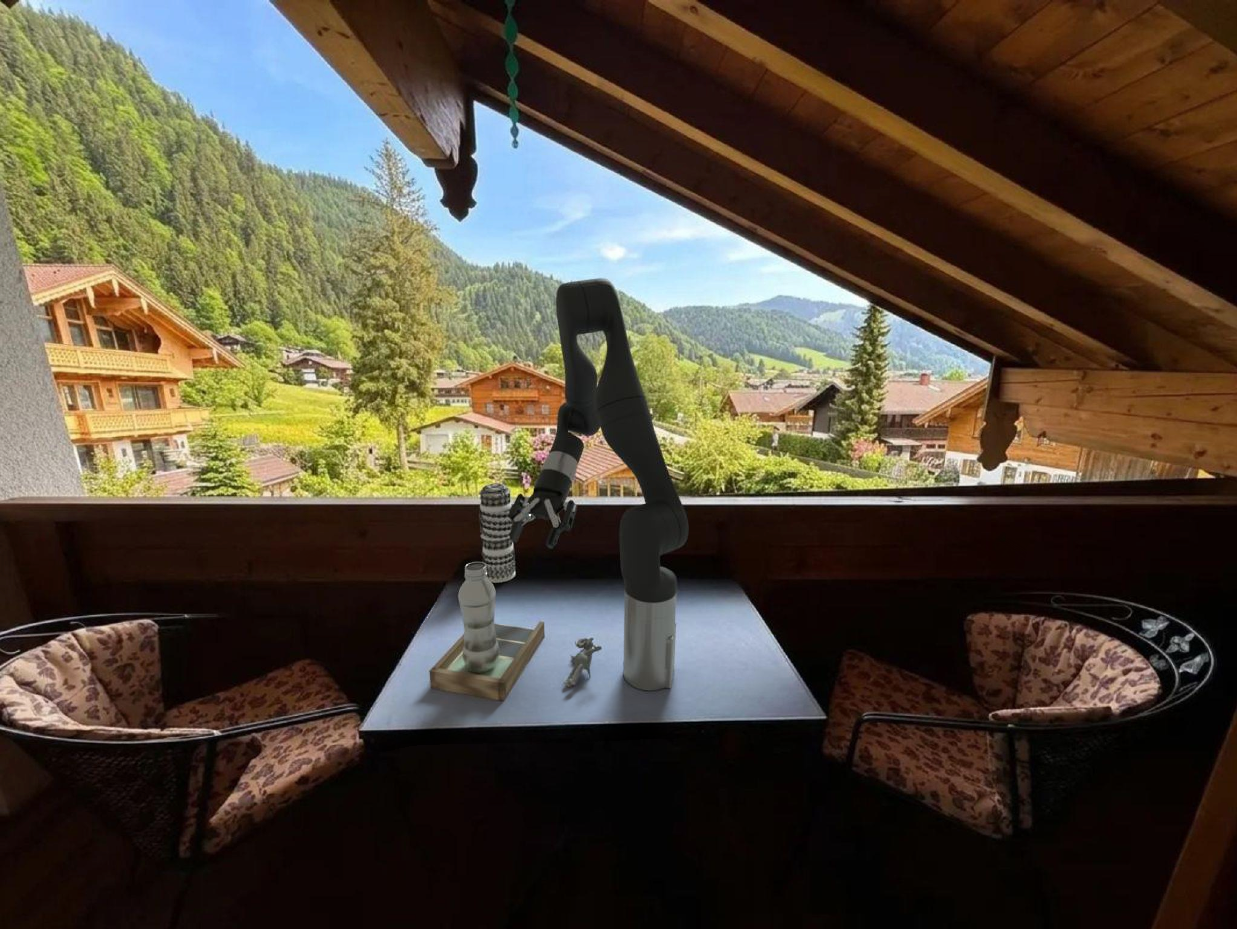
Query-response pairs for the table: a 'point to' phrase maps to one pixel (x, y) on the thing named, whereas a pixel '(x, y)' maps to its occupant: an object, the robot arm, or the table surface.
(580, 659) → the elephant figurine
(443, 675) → the box
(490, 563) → the decorative candle
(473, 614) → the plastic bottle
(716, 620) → the table surface
